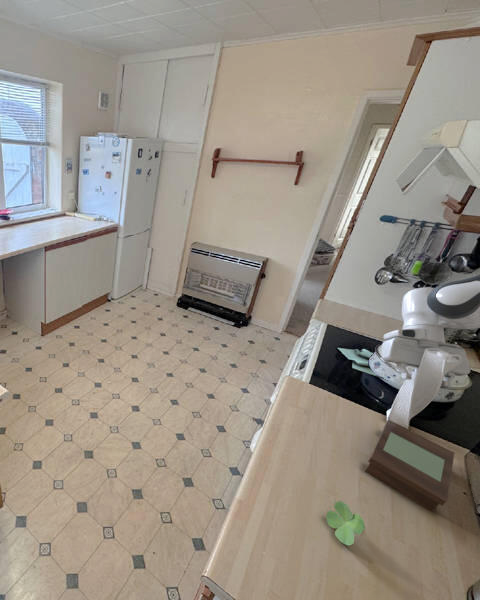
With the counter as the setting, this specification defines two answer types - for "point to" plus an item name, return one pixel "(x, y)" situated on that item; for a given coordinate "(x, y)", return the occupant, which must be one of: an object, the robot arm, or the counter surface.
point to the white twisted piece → (422, 385)
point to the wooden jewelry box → (412, 465)
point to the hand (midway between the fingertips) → (425, 383)
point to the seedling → (345, 523)
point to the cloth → (359, 359)
